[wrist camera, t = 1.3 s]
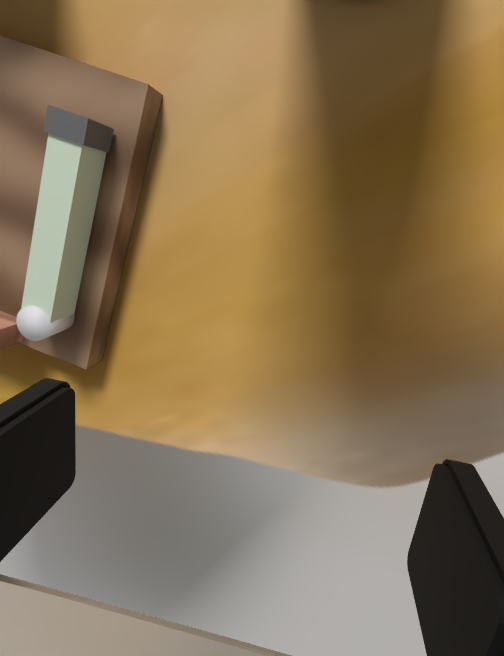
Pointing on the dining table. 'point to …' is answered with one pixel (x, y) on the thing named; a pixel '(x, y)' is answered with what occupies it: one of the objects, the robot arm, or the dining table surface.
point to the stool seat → (26, 172)
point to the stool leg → (62, 221)
